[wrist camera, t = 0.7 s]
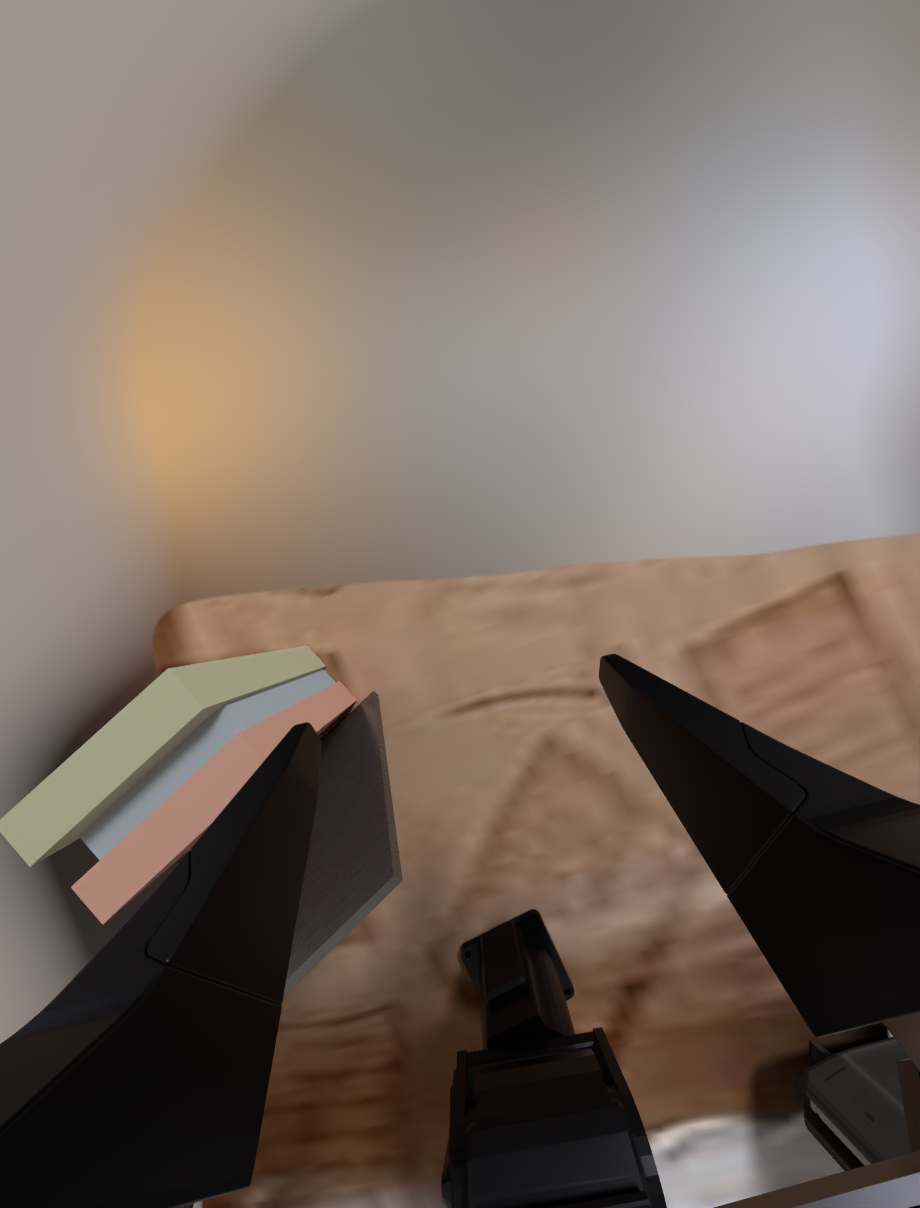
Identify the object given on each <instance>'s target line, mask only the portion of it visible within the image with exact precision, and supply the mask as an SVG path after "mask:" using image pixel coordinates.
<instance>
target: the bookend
mask: <svg viewBox="0 0 920 1208" xmlns="http://www.w3.org/2000/svg"><path fill="white" fill-rule="evenodd" d="M401 882H402V873H401V865H400V858H399V850H398V842H397V835H396V827H395V820H394V812H393V804H392V797H391V789H390V781H389V774H388V766H387V759H386V751H385V743H384V736H383V728H382V720H381V713H380V705H379V698H378V694H376V693H375V692H374V691H373V692H372V693H371V694H370V695H369V696H368V697H367V698H366V699H365V700H364V701H362V702H361V703H360V704H359V705H358V706H357V707H356V708H355V709H354V710H353V711H352V712H351V713H350V714H349V715H348V716H346V717H345V718H344V719H343V720H342V721H341V722H340V723H339V724H338V725H337V726H336V727H335V728H334V729H333V730H331V731H330V732H329V733H328V734H327V735H326V736H325V737H324V738H323V739H322V740H321V760H320V775H319V790H318V799H317V806H316V812H315V817H314V823H313V829H312V835H311V840H310V846H309V852H308V858H307V863H306V869H305V875H304V881H303V886H302V892H301V898H300V904H299V909H298V915H297V921H296V927H295V933H294V938H293V944H292V950H291V956H290V961H289V967H288V973H287V979H286V984H285V990H284V995H285V994H286V993H287V992H288V991H289V990H290V989H291V988H292V987H293V986H294V985H295V984H296V983H297V982H298V981H299V980H301V979H302V978H303V977H304V976H305V975H306V974H307V973H308V972H309V971H310V970H311V969H312V968H313V967H314V966H315V965H316V964H317V963H318V962H319V961H320V960H321V959H322V958H323V957H324V956H325V955H326V954H327V953H328V952H329V951H330V950H331V949H333V948H334V947H335V946H336V945H337V944H338V943H339V942H340V941H341V940H342V939H343V938H344V937H345V936H346V935H347V934H348V933H349V932H350V931H351V930H352V929H353V928H354V927H355V926H356V925H357V924H358V923H359V922H360V921H361V920H362V919H363V918H364V917H366V916H367V915H368V914H369V913H370V912H371V911H372V910H373V909H374V908H375V907H376V906H377V905H378V904H379V903H380V902H381V901H382V900H383V899H384V898H385V897H386V896H387V895H388V894H389V893H390V892H391V891H392V890H393V889H394V888H395V887H396V886H397V885H399V884H400V883H401Z"/></svg>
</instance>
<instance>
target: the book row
mask: <svg viewBox="0 0 920 1208" xmlns="http://www.w3.org/2000/svg"><path fill="white" fill-rule="evenodd" d="M324 667H326V665H325V664H324V663H323V662H322V661H321V660H320V659H319V658H318V657H317V656H316V655H315V653H314V652H313V651H312V650H311V649H310V648H309V647H308V646H301V647H295V648H289V649H283V650H277V651H271V652H265V653H259V654H253V655H247V656H241V657H235V658H229V659H223V660H217V661H211V662H205V663H199V664H193V665H187V666H181V667H175V668H169V669H167V670H166V671H165V672H164V673H162V674H161V675H160V676H159V677H158V678H157V679H156V680H155V681H154V682H152V683H151V684H150V685H149V686H148V687H147V688H146V689H145V690H144V691H142V692H141V693H140V694H139V695H138V696H137V697H136V698H135V699H134V700H133V701H131V702H130V703H129V704H128V705H127V706H126V707H125V708H124V709H123V710H121V711H120V712H119V713H118V714H117V715H116V716H115V717H114V718H113V719H111V720H110V721H109V722H108V723H107V724H106V725H105V726H104V727H103V728H101V729H100V730H99V731H98V732H97V733H96V734H95V735H94V736H93V737H91V738H90V739H89V740H88V741H87V742H86V743H85V744H84V745H83V746H81V747H80V748H79V749H78V750H77V751H76V752H75V753H74V754H73V755H71V756H70V757H69V758H68V759H67V760H66V761H65V762H64V763H63V764H61V765H60V766H59V767H58V768H57V769H56V770H55V771H54V772H53V773H52V774H51V775H49V776H48V777H47V778H46V779H45V780H44V781H43V782H41V784H39V785H38V786H37V787H36V788H35V789H34V790H33V791H32V792H30V793H29V794H28V795H27V796H26V797H25V798H24V799H23V800H22V801H20V802H19V803H18V804H17V805H16V806H15V807H14V808H13V809H12V810H10V811H9V812H8V813H7V814H6V815H5V816H4V817H3V818H2V819H1V820H0V832H1V834H2V835H3V836H4V837H5V838H6V839H7V841H8V842H9V843H10V844H11V845H12V846H13V847H14V849H15V850H16V851H17V852H18V853H19V855H20V856H21V857H22V858H23V859H24V861H25V862H26V863H27V864H28V865H29V866H30V867H31V866H32V865H34V864H36V863H37V862H39V861H41V860H43V859H44V858H46V857H48V856H49V855H51V854H53V853H55V852H56V851H58V850H60V849H62V848H63V847H65V846H67V845H68V844H70V843H72V842H74V841H76V840H77V839H79V838H81V839H82V840H83V842H84V843H85V844H86V845H87V846H88V847H89V848H90V850H91V851H92V852H93V853H94V854H95V855H96V857H97V858H98V859H99V860H100V861H99V862H98V863H97V864H96V865H95V866H93V867H92V868H91V869H90V870H89V871H88V872H87V873H86V874H85V875H84V876H83V877H82V878H80V879H79V880H78V881H77V882H76V883H75V884H74V885H73V886H72V887H71V888H72V889H73V890H74V891H75V893H76V894H77V895H78V896H79V897H80V899H81V900H83V902H84V903H85V904H86V906H87V907H88V908H89V909H90V910H91V911H92V913H94V915H95V916H96V917H97V918H98V919H99V921H100V922H101V923H102V924H104V923H105V922H106V921H107V920H108V919H109V918H111V917H112V916H113V915H114V914H116V913H117V912H118V911H119V910H120V909H121V908H123V907H124V906H125V905H126V904H127V903H128V902H130V901H131V900H132V899H133V898H134V897H135V896H136V895H138V894H139V893H140V892H141V891H142V890H143V889H145V888H146V887H147V886H148V885H149V884H151V883H152V882H153V881H154V880H155V879H156V878H157V877H159V876H160V875H161V874H162V873H163V872H165V871H166V870H167V869H168V868H169V867H170V866H171V865H173V864H174V863H175V862H176V861H177V860H179V859H180V858H181V857H182V856H183V855H184V854H186V853H187V852H188V851H189V850H190V849H191V848H192V846H193V845H194V844H195V843H196V841H197V840H198V839H199V838H200V837H201V835H202V834H203V833H204V832H205V831H206V829H207V828H208V827H209V826H210V825H211V823H212V822H213V821H214V820H215V819H216V818H217V816H218V815H219V814H220V813H221V812H222V810H223V809H224V808H225V807H226V806H227V804H228V803H229V802H230V801H231V800H232V798H233V797H234V796H235V795H236V794H237V792H238V791H239V790H240V789H241V788H242V787H243V785H244V784H245V783H246V782H247V781H248V779H249V778H250V777H251V776H252V775H253V773H254V772H255V771H256V770H257V769H258V767H259V766H260V765H261V764H262V763H263V761H264V760H265V759H266V758H267V757H268V755H269V754H270V753H271V752H272V751H273V750H274V748H275V747H276V746H277V745H278V744H279V742H280V741H281V740H282V739H283V738H284V736H285V735H286V734H287V733H288V732H289V730H290V729H291V728H292V727H293V726H294V725H296V724H300V723H305V722H309V723H310V724H311V725H312V726H313V728H314V729H315V731H316V732H317V734H318V736H319V735H320V734H321V733H322V732H323V731H324V730H325V729H326V728H327V727H328V726H330V725H331V724H332V723H333V722H334V721H335V720H336V719H337V718H338V717H339V716H340V715H341V714H342V713H343V712H345V711H346V710H347V709H348V708H349V707H350V706H351V705H352V704H353V703H354V702H355V701H356V698H355V697H354V696H353V695H352V694H351V693H350V692H349V691H348V690H347V689H346V687H345V686H344V685H343V684H342V683H341V682H340V681H339V682H337V683H336V682H335V681H334V680H333V679H332V678H331V677H330V676H329V675H328V673H327V672H326V671H325V670H324V669H323V668H324Z"/></svg>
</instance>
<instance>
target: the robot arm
mask: <svg viewBox="0 0 920 1208" xmlns="http://www.w3.org/2000/svg"><path fill="white" fill-rule="evenodd" d="M599 679H600V682H601V684H602V686H603V689H604V691H605V693H606V695H607V697H608V699H609V701H610V703H611V705H612V707H613V709H614V711H615V713H616V716H617V718H618V720H619V722H620V724H621V726H622V727H623V729H624V731H625V733H626V734H627V736H628V737H629V739H630V741H631V742H632V744H633V745H634V747H635V749H636V750H637V752H638V753H639V755H640V757H641V758H642V760H643V762H644V763H645V765H646V766H647V768H648V770H649V771H650V773H651V774H652V776H653V778H654V779H655V781H656V782H657V784H658V786H659V787H660V789H661V790H662V792H663V794H664V795H665V797H666V798H667V800H668V802H669V803H670V805H671V806H672V808H673V810H674V811H675V813H676V815H677V816H678V818H679V819H680V821H681V823H682V824H683V826H684V827H685V829H686V831H687V832H688V834H689V835H690V837H691V839H692V840H693V842H694V843H695V845H696V847H697V848H698V850H699V851H700V853H701V855H702V856H703V858H704V860H705V861H706V863H707V864H708V866H709V868H710V869H711V871H712V872H713V874H714V876H715V877H716V879H717V880H718V882H719V884H720V885H721V887H722V888H723V890H724V892H725V893H726V894H727V897H728V898H729V900H730V902H731V903H732V905H733V906H734V908H735V910H736V911H737V913H738V914H739V916H740V918H741V919H742V921H743V923H744V924H745V926H746V927H747V929H748V931H749V932H750V934H751V935H752V937H753V939H754V940H755V942H756V943H757V945H758V947H759V948H760V950H761V951H762V953H763V955H764V956H765V958H766V959H767V961H768V963H769V964H770V966H771V968H772V969H773V971H774V972H775V974H776V976H777V977H778V979H779V980H780V982H781V984H782V985H783V987H784V988H785V990H786V992H787V993H788V995H789V996H790V998H791V1000H792V1001H793V1003H794V1004H795V1006H796V1008H797V1009H798V1011H799V1013H800V1014H801V1016H802V1017H803V1019H804V1021H805V1022H806V1024H807V1025H808V1027H809V1028H810V1030H811V1031H812V1033H813V1034H814V1036H815V1037H816V1038H821V1037H825V1036H829V1035H833V1034H837V1033H841V1032H845V1031H849V1030H853V1029H857V1028H861V1027H865V1026H869V1025H873V1024H877V1023H881V1022H883V1023H884V1025H885V1026H886V1027H887V1029H888V1030H889V1031H890V1033H891V1034H892V1035H893V1037H894V1038H895V1039H896V1040H897V1042H898V1043H899V1044H900V1046H901V1047H902V1048H903V1050H904V1051H905V1052H906V1054H907V1055H908V1056H909V1058H907V1059H904V1060H900V1061H896V1063H897V1069H898V1076H899V1082H900V1088H901V1095H902V1101H903V1107H904V1113H905V1120H906V1126H907V1132H908V1139H909V1145H910V1151H911V1153H910V1154H906V1155H903V1156H899V1157H896V1158H892V1159H888V1160H885V1161H881V1162H877V1163H874V1164H870V1165H867V1166H863V1167H859V1168H856V1169H852V1170H848V1171H845V1172H841V1173H838V1174H834V1175H830V1176H827V1177H823V1178H819V1179H816V1180H812V1181H809V1182H805V1183H801V1184H798V1185H794V1186H790V1187H787V1188H783V1189H780V1190H776V1191H772V1192H769V1193H765V1194H761V1195H758V1196H754V1197H751V1198H747V1199H743V1200H740V1201H736V1202H732V1203H729V1204H725V1205H722V1206H718V1207H714V1208H920V805H919V804H916V803H913V802H910V801H907V800H905V799H902V798H899V797H897V796H894V795H892V794H890V793H887V792H885V791H883V790H881V789H879V788H876V787H874V786H872V785H870V784H868V783H866V782H863V781H861V780H859V779H857V778H855V777H853V776H851V775H848V774H846V773H844V772H842V771H840V770H838V769H835V768H833V767H831V766H829V765H827V764H825V763H823V762H820V761H818V760H816V759H814V758H812V757H810V756H808V755H806V754H804V753H801V752H799V751H797V750H795V749H793V748H791V747H789V746H787V745H785V744H783V743H781V742H779V741H777V740H775V739H773V738H771V737H769V736H767V735H766V734H764V733H762V732H760V731H758V730H756V729H754V728H752V727H750V726H749V725H747V724H745V723H743V722H741V723H740V721H739V720H737V719H735V718H734V717H732V716H730V715H728V714H726V713H724V712H722V711H721V710H719V709H717V708H715V707H713V706H711V705H710V704H708V703H706V702H704V701H702V700H700V699H698V698H697V697H695V696H693V695H691V694H689V693H687V692H685V691H684V690H682V689H680V688H678V687H676V686H674V685H673V684H671V683H669V682H667V681H665V680H663V679H661V678H660V677H658V676H656V675H654V674H652V673H650V672H648V671H647V670H645V669H643V668H641V667H639V666H637V665H636V664H634V663H632V662H630V661H628V660H626V659H624V658H623V657H621V656H619V655H617V654H609V655H605V656H602V657H601V659H600V668H599ZM320 760H321V740H320V737H319V736H318V734H317V732H316V731H315V729H314V728H313V726H312V725H311V724H310V723H309V722H305V723H300V724H296V725H294V726H293V727H292V728H291V729H290V730H289V732H288V733H287V734H286V735H285V736H284V738H283V739H282V740H281V741H280V742H279V744H278V745H277V746H276V747H275V748H274V750H273V751H272V752H271V753H270V754H269V755H268V757H267V758H266V759H265V760H264V761H263V763H262V764H261V765H260V766H259V767H258V769H257V770H256V771H255V772H254V773H253V775H252V776H251V777H250V778H249V779H248V781H247V782H246V783H245V784H244V785H243V787H242V788H241V789H240V790H239V791H238V792H237V794H236V795H235V796H234V797H233V798H232V800H231V801H230V802H229V803H228V804H227V806H226V807H225V808H224V809H223V810H222V812H221V813H220V814H219V815H218V816H217V818H216V819H215V820H214V821H213V822H212V823H211V825H210V826H209V827H208V828H207V829H206V831H205V832H204V833H203V834H202V835H201V837H200V838H199V839H198V840H197V841H196V843H195V844H194V845H193V846H192V848H191V850H190V851H188V852H187V853H186V854H185V856H184V857H183V858H182V859H181V860H180V862H179V863H178V864H177V865H176V866H175V867H174V869H173V870H172V871H171V872H170V873H169V874H168V876H167V877H166V878H165V879H164V880H163V881H162V883H161V884H160V885H159V886H158V887H157V888H156V890H155V891H154V892H153V893H152V894H151V895H150V896H149V897H148V898H147V900H146V901H145V902H144V903H143V904H142V905H141V906H140V907H139V908H138V910H137V911H136V912H135V913H134V914H133V915H132V916H131V917H130V918H129V919H128V920H127V922H126V923H125V924H124V925H123V926H122V927H121V928H120V929H119V930H118V931H117V932H116V934H114V936H113V937H112V938H111V939H110V940H109V941H108V942H107V943H106V944H105V945H104V946H103V947H102V948H101V950H100V951H99V952H98V953H97V954H96V955H95V956H94V957H93V958H92V959H91V960H90V961H89V962H88V963H87V965H86V966H85V967H84V968H83V969H82V970H81V971H80V972H79V973H78V974H77V975H76V976H75V977H74V978H73V980H72V981H71V982H70V983H69V984H68V985H67V986H66V987H65V988H64V989H63V990H62V991H61V992H60V993H59V994H58V996H56V998H54V999H53V1001H52V1002H50V1004H48V1005H47V1006H46V1007H45V1008H44V1009H43V1010H42V1011H41V1012H40V1013H39V1014H38V1015H37V1016H35V1017H34V1018H33V1019H32V1020H31V1021H30V1022H28V1023H27V1024H26V1025H25V1026H24V1027H22V1028H21V1029H20V1030H19V1031H18V1032H16V1033H15V1034H13V1035H12V1036H11V1037H9V1038H8V1039H7V1040H5V1041H4V1042H2V1043H1V1044H0V1208H193V1204H194V1203H195V1202H199V1201H202V1200H206V1199H210V1198H213V1197H217V1196H221V1195H224V1194H228V1193H232V1192H235V1191H239V1190H243V1189H246V1188H249V1186H250V1183H251V1179H252V1174H253V1169H254V1164H255V1158H256V1153H257V1147H258V1141H259V1135H260V1130H261V1124H262V1118H263V1112H264V1107H265V1101H266V1095H267V1089H268V1084H269V1078H270V1072H271V1066H272V1060H273V1055H274V1049H275V1043H276V1037H277V1032H278V1026H279V1020H280V1014H281V1009H282V1006H281V1004H282V1002H283V996H284V990H285V984H286V979H287V973H288V967H289V961H290V956H291V950H292V944H293V938H294V933H295V927H296V921H297V915H298V909H299V904H300V898H301V892H302V886H303V881H304V875H305V869H306V863H307V858H308V852H309V846H310V840H311V835H312V829H313V823H314V817H315V812H316V806H317V799H318V790H319V775H320ZM533 918H537V919H536V920H532V919H533ZM466 951H469V953H466ZM461 956H462V959H463V962H464V964H465V966H466V968H467V971H468V973H469V975H470V977H471V979H472V982H473V984H474V986H475V988H476V991H477V993H478V995H479V997H480V1000H481V1017H482V1033H483V1050H479V1051H473V1052H467V1050H463V1051H458V1052H457V1069H456V1070H454V1078H453V1085H452V1087H451V1088H450V1129H449V1139H448V1144H447V1150H446V1156H445V1161H444V1167H443V1172H442V1201H443V1203H444V1205H445V1207H446V1208H667V1207H666V1202H665V1198H664V1194H663V1190H662V1187H661V1183H660V1179H659V1175H658V1172H657V1168H656V1165H655V1161H654V1158H653V1155H652V1151H651V1148H650V1145H649V1142H648V1139H647V1135H646V1132H645V1129H644V1126H643V1124H642V1121H641V1118H640V1115H639V1112H638V1109H637V1107H636V1104H635V1102H634V1099H633V1097H632V1094H631V1092H630V1090H629V1087H628V1085H627V1083H626V1081H625V1078H624V1076H623V1074H622V1072H621V1069H620V1067H619V1065H618V1063H617V1060H616V1058H615V1056H614V1054H613V1051H612V1049H611V1047H610V1045H609V1042H608V1040H607V1038H606V1036H605V1033H604V1031H603V1029H602V1027H600V1028H594V1029H593V1031H592V1032H586V1033H580V1034H575V1031H574V1028H573V1024H572V1021H571V1017H570V1014H569V1010H568V1007H567V1003H566V1001H567V1000H569V999H570V998H572V997H573V995H574V988H573V985H572V982H571V980H570V978H569V976H568V974H567V971H566V969H565V967H564V965H563V963H562V960H561V958H560V956H559V954H558V952H557V950H556V947H555V945H554V943H553V941H552V939H551V937H550V934H549V932H548V930H547V928H546V926H545V924H544V921H543V919H542V917H541V915H540V913H539V912H538V911H537V910H534V909H533V910H530V911H528V912H526V913H524V914H522V915H520V916H518V917H516V918H514V919H512V920H510V921H508V922H506V923H504V924H502V925H500V926H498V927H496V928H494V929H492V930H490V931H488V932H486V933H484V934H482V935H480V936H478V937H476V938H474V939H472V940H470V941H468V942H466V943H464V944H463V945H462V947H461ZM566 988H568V989H566ZM565 989H566V990H565Z"/></svg>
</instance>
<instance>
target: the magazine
mask: <svg viewBox="0 0 920 1208" xmlns="http://www.w3.org/2000/svg"><path fill="white" fill-rule="evenodd" d="M811 1057H812V1058H813V1059H814V1060H816V1061H817V1062H818V1063H816V1064H814V1065H812V1066H810V1067H809V1068H807V1069H805V1070H803V1072H801V1073H799V1074H797V1075H796V1088H797V1093H798V1095H799V1097H800V1099H801V1101H802V1103H803V1105H804V1118H805V1124H806V1126H807V1128H808V1130H809V1131H810V1132H811V1133H812V1134H813V1136H814V1137H815V1138H816V1139H817V1140H818V1141H819V1142H820V1144H821V1145H822V1146H823V1147H824V1148H825V1149H826V1150H827V1151H828V1153H829V1154H830V1155H831V1156H832V1157H833V1158H834V1159H835V1161H836V1162H837V1163H838V1164H839V1165H840V1166H841V1167H842V1168H843V1170H844V1171H848V1170H852V1169H856V1168H859V1167H863V1166H867V1165H870V1164H874V1163H877V1162H881V1161H885V1160H888V1159H892V1158H896V1157H899V1156H903V1155H906V1154H910V1153H911V1151H910V1145H909V1139H908V1132H907V1126H906V1120H905V1113H904V1107H903V1101H902V1095H901V1088H900V1082H899V1076H898V1069H897V1063H896V1061H900V1060H904V1059H907V1058H909V1056H908V1055H907V1054H906V1052H905V1051H904V1050H903V1048H902V1047H901V1046H900V1044H899V1043H898V1042H897V1040H896V1039H895V1038H894V1037H891V1038H887V1039H883V1040H879V1041H876V1042H872V1043H868V1044H864V1045H860V1046H856V1047H853V1048H850V1049H847V1050H844V1051H842V1052H839V1053H835V1054H832V1053H830V1052H829V1051H828V1050H826V1049H825V1048H824V1047H822V1046H821V1045H819V1044H818V1043H817V1042H815V1041H814V1040H812V1041H811Z"/></svg>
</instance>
